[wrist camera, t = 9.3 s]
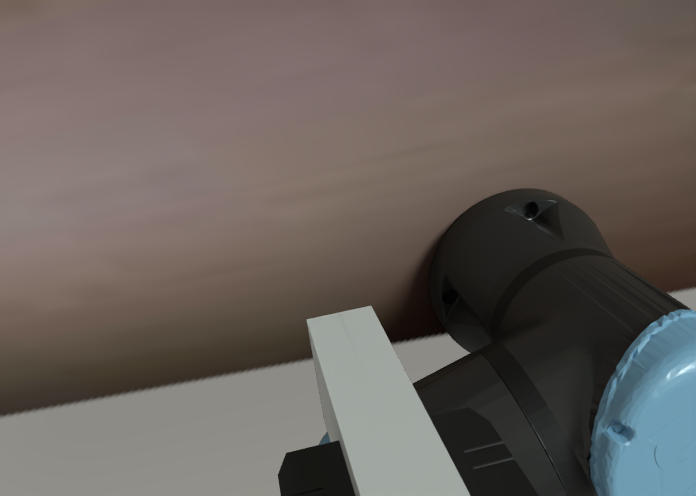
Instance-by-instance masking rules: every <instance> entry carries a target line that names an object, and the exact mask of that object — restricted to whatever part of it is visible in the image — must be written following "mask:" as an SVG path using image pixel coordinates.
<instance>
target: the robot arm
mask: <svg viewBox="0 0 696 496" xmlns="http://www.w3.org/2000/svg"><path fill="white" fill-rule="evenodd" d="M429 291H430V298H431V303H432V306H433V309H434V311H435V314H436V316H437V317H438V319H439V321H440V322H441V324H442V325H443V326H444V328H445V329H446V331H447V332H448V334H449V335H450V336H451V337H452V338H453V340H455V341H456V342H457V343H458V344H459V345H460V346H461V347H463V348H464V349H466V350H467V351H468V352H470V353H471V354H468V355H466V356H464V357H462V358H461V359H459V360H457V361H455V362H453V363H451V364H449V365H447V366H445V367H443V368H442V369H440V370H438V371H436V372H434V373H432V374H430V375H428V376H426V377H424V378H423V379H421V380H419V381H417V382H415V383H413V384H412V383H411V381H410V379H409V377H408V375H407V373H406V372H405V369H404V368H403V366H402V364H401V362H400V360H399V358H398V356H397V354H396V352H395V350H394V349H393V347H392V345H391V343H390V341H389V339H388V337H387V335H386V333H385V331H384V329H383V327H382V326H381V324H380V322H379V320H378V318H377V316H376V314H375V312H374V310H373V308H372V306H368V307H363V308H358V309H354V310H349V311H344V312H340V313H335V314H330V315H326V316H321V317H316V318H312V319H307V325H308V331H309V336H310V342H311V348H312V353H313V359H314V365H315V370H316V376H317V382H318V387H319V393H320V398H321V404H322V410H323V415H324V420H325V424H326V427H327V431H328V432H327V433H326V434H325V435H324V437H323V438H322V440H321V442H320V444H319V445H317V446H314V447H309V448H305V449H301V450H297V451H293V452H289V453H286V455H285V458H284V461H283V463H282V466H281V469H280V471H279V474H278V479H279V485H280V492H281V496H696V311H693V310H692V309H690V308H688V307H687V306H685V305H684V304H682V303H681V302H679V301H677V300H676V299H675V298H673V297H672V296H670V295H669V294H667V293H666V292H664V291H663V290H661V289H660V288H658V287H657V286H655V285H654V284H652V283H651V282H649V281H647V280H646V279H644V278H643V277H641V276H640V275H638V274H637V273H635V272H634V271H632V270H631V269H629V268H628V267H626V266H625V265H623V264H622V263H620V262H619V261H617V260H616V259H614V257H613V255H612V253H611V251H610V249H609V248H608V246H607V244H606V242H605V240H604V238H603V237H602V235H601V233H600V231H599V229H598V228H597V226H596V224H595V223H594V222H593V221H592V219H591V218H590V217H589V216H588V215H587V214H586V213H585V212H584V211H583V210H581V209H580V208H579V207H577V206H576V205H574V204H572V203H571V202H569V201H568V200H566V199H564V198H563V197H561V196H559V195H557V194H554V193H552V192H548V191H545V190H540V189H516V190H510V191H506V192H502V193H499V194H496V195H494V196H491V197H489V198H487V199H485V200H483V201H481V202H480V203H478V204H476V205H475V206H473V207H472V208H471V209H469V210H468V211H467V212H466V213H464V214H463V215H462V216H461V217H460V218H459V219H458V220H457V221H456V222H455V223H454V224H453V225H452V227H451V228H450V229H449V230H448V232H447V233H446V235H445V236H444V238H443V239H442V241H441V243H440V245H439V247H438V249H437V251H436V253H435V256H434V259H433V262H432V266H431V270H430V278H429Z"/></svg>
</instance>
